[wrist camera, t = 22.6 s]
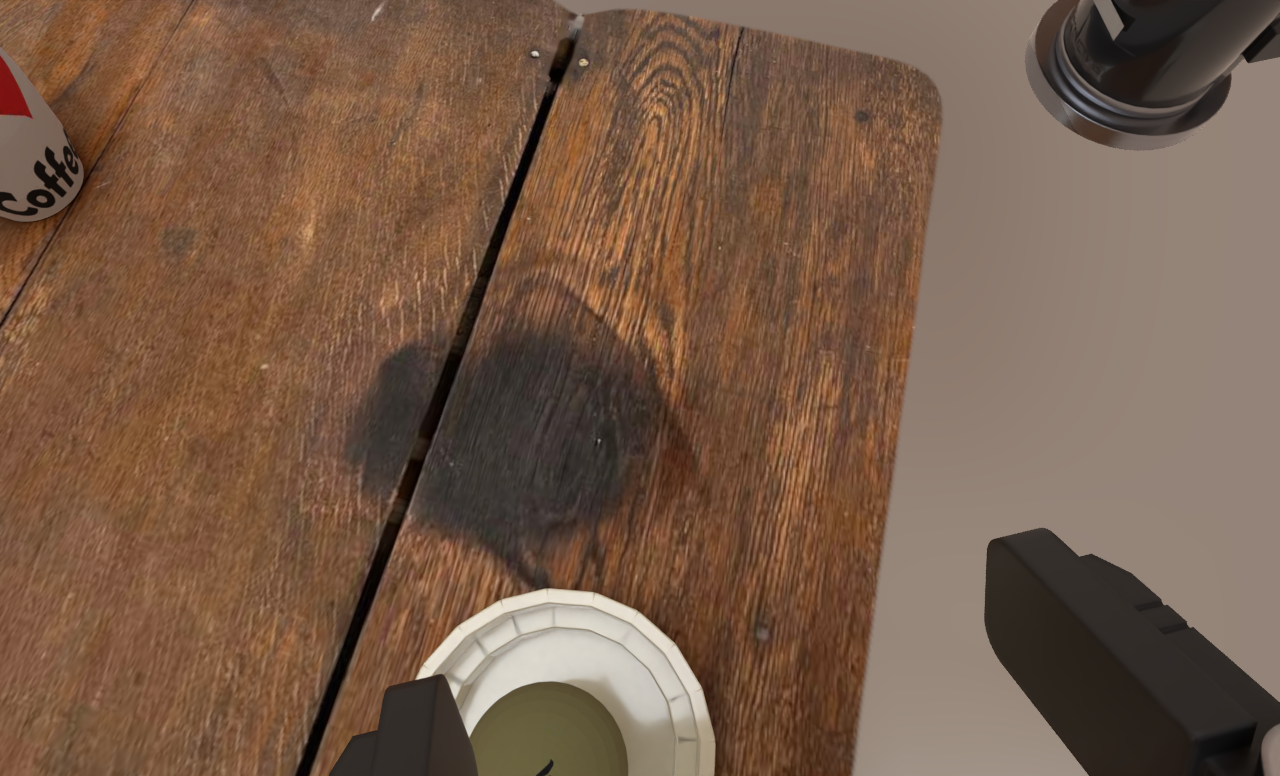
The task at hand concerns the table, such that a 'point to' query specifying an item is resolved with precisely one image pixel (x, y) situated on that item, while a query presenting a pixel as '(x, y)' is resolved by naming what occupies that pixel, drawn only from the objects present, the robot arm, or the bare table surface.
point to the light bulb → (548, 734)
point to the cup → (32, 151)
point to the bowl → (585, 672)
